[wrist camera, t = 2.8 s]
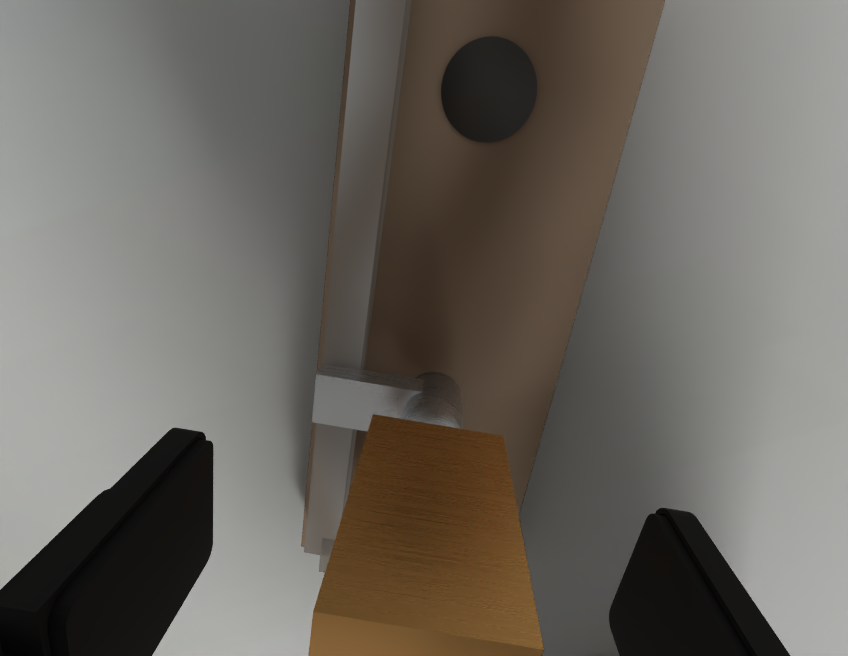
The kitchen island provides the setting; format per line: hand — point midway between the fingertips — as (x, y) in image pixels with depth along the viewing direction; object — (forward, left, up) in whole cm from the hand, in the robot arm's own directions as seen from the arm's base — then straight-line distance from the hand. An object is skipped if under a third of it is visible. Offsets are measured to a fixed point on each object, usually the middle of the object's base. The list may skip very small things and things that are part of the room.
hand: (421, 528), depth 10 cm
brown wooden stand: (0, -2, -8) cm, 9 cm away
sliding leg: (+1, 0, -6) cm, 7 cm away
